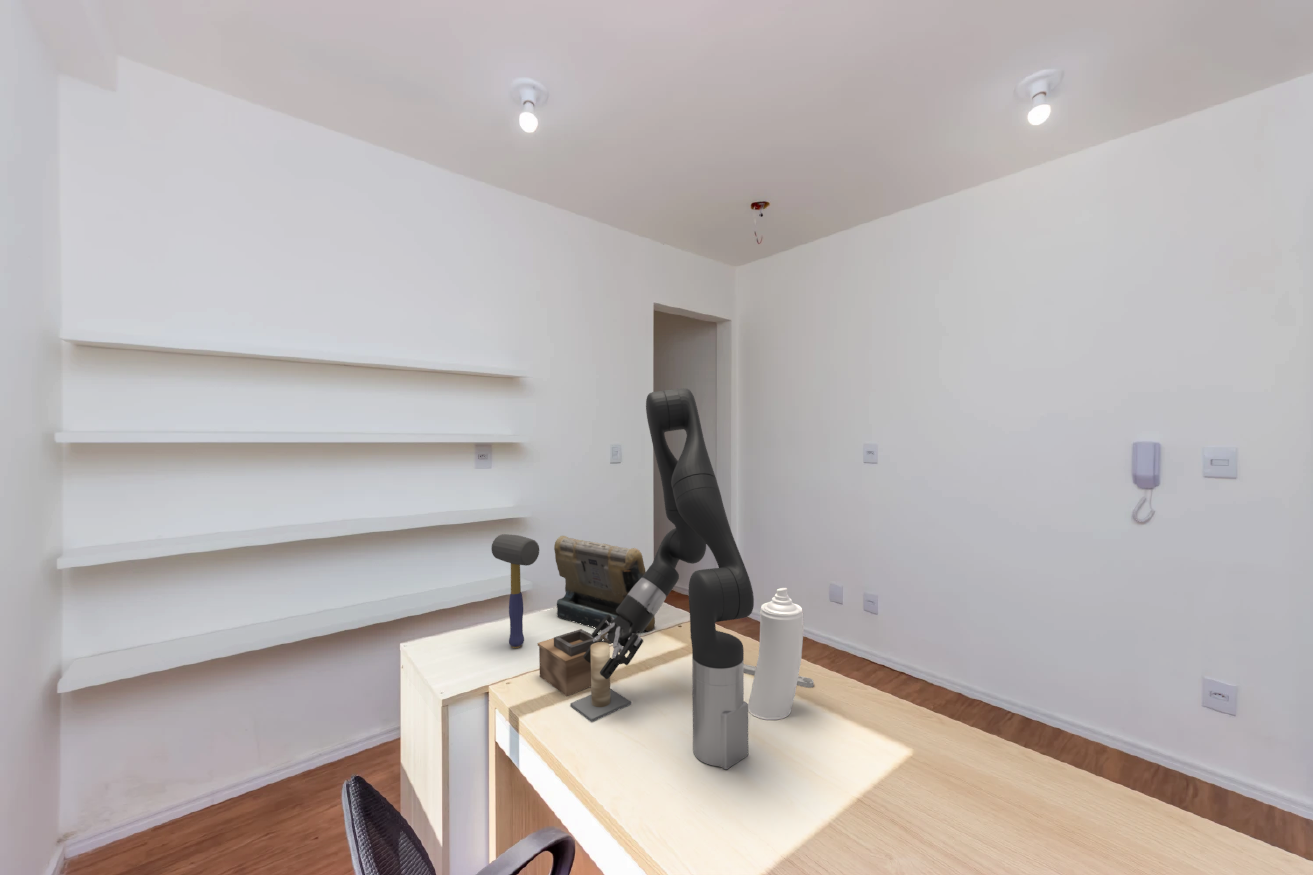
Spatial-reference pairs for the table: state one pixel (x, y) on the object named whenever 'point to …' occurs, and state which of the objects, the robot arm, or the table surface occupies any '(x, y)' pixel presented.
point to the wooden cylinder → (598, 682)
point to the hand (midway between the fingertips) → (594, 668)
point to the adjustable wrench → (801, 681)
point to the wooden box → (566, 661)
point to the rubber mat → (596, 713)
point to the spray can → (777, 658)
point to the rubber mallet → (515, 576)
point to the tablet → (595, 579)
